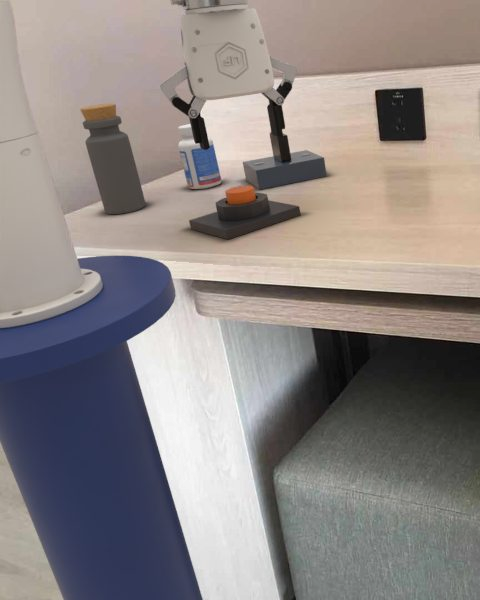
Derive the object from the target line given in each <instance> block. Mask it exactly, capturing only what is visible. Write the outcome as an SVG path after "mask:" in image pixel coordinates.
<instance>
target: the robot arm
mask: <svg viewBox="0 0 480 600" xmlns="http://www.w3.org/2000/svg"><path fill="white" fill-rule="evenodd" d="M169 3H170V5H171V6H176V5H177V6H178V7H181V8H182V9H183V11H184V14H183V15H180V35H181V47H182V54H183V61H184V65H183V66H181V67H180V68H179V69H177V71H175V72H173V73H172V74H170V76H168V77H167V78H166V79H164V80H163V81H162V82H160V83H159V84H158V89H159V90H160V92H161V93H162V94H163V95H164V97H165V98H166V99H167V100H168V101H169V103H170V104H171V105H172V106H173V107H174V108H176V109H177V110H178V111H180V112H181V113H183V114H184V115H185V116H187V117H188V119H189V124H191V129H192V133H193V138H194V141H195V143H196V144H198V143H199V144H200V147H201V148H202V149H203V150H208V148H210V146H209V141H208V137H209V136H208V132H207V126H206V122H205V118H204V117H202V115H201V111H202V110H203V108H204V106H205V104H206V102H207V101H217V100H224V99H230V98H238V97H246V96H252V95H259V94H261V95H262V96H263V97H264V98H266V99H267V100H268V104H267V106H266V109H267V115H268V120H269V121H268V122H269V127H270V132H271V133H272V135H274V136H277V137H283V134H284V133H283V130H285V129H286V122H285V118H284V116H285V115H284V110H283V105H284V103H285V100H286V98H288V95H289V94H290V93H291V91H292V90H293V84H294V81H295V78H296V76H297V75H296V74H297V71H298V69H297V67H296V66H295V65H293V64H290V63H287V62H285V61H282V60H280V59H277V58H276V57H273V56H270V52H269V49H268V45H267V41H266V37H265V33H264V30H263V27H262V23H261V21H260V17H259V14H258V11H257V9H256V8H255V7H252V8H251V7H250V8H249V4H248V0H169ZM19 56H20V55H19V47H18V38H17V29H16V20H15V14H14V10H13V6H12V2H11V0H0V329H4V328H11V327H17V326H23V325H27V324H31V323H36V322H39V321H43V320H46V319H50V318H53V317H56V316H58V315H61V314H64V313H66V312H69V311H71V310H73V309H76V308H78V307H80V306H82V305H83V304H85V303H87V302H89V301H90V300H92V299H93V298H94V297H95V296H97V295H98V294H99V292H100V291H101V289H102V288H103V283H102V280H101V277H100V275H99V274H98V273H97V272H95V271H92V270H88V269H80V266H79V262H78V256H77V253H76V250H75V246H74V243H73V240H72V237H71V234H70V231H69V227H68V224H67V221H66V218H65V214H64V210H63V207H62V205H61V202H60V198H59V195H58V191H57V189H56V186H55V182H54V178H53V176H52V172H51V169H50V166H49V162H48V159H47V156H46V153H45V150H44V146H43V144H42V143H43V142H42V139H41V136H40V133H39V130H38V127H37V125H36V122H35V118H34V115H33V111H32V108H31V105H30V101H29V97H28V94H27V89H26V86H25V81H24V77H23V73H22V68H21V63H20V62H21V61H20V57H19ZM273 70H274V71H276V72H279V73H281V75H282V78H281V82H280V83H279V85H278V86H277V88H276V89H275V88H274V86H275V77H274V71H273ZM185 80H186V81H187V86H188V90H189V92H190V94H191V95H192V96H191V97H190V100H189V101H188V102H186V101H185V100H184V99H182V98H181V97H180V96H179V94H177V92H176V87H177V86H180V84H182V83H183V82H185Z"/></svg>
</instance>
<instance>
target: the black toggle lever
mask: <svg viewBox="0 0 480 600" xmlns="http://www.w3.org/2000/svg"><path fill="white" fill-rule="evenodd" d="M269 132H270V133H269V140H270V144H271V151H272V156H274V158H275V159H277V160H278V161H280V162H287V161H291V154H290V153H291V150H290V142H289V136H288V134H285V133H283V137H277V136H274V135H272V133H271V131H269Z"/></svg>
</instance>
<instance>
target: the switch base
mask: <svg viewBox="0 0 480 600" xmlns="http://www.w3.org/2000/svg"><path fill="white" fill-rule="evenodd" d="M255 196H256V200H254V201H250V202H247V203H241V204H228V203H227V198H226V197H223V198H220V199H219V200H217V201H216V202H215V209H216V211H215V212H211V213H207V214H205V215H201V216H198V217H196V218H192V219H189V220H188V221H189V222H188V223H189V227H190V230H193V231H197V232H199V233H200V232H201V233H202V234H203V233H204V234H207V235H211V236H214V237H216V238H217V237H218V238H221V239H225V240H231V239H235V238H237V237H240V236H243V235H245V234H249V233H252V232H254V231H257V230H260V229H264V228H266V227H269V226H273V225H276V224H279V223H281V222H284V221H288V220H290V219H293V218H296V217H299V216H301V207H300V206H299V205H295V204H290V203H284V202H279V201H273V200H269V196H268V195H267V193H264V192H255Z"/></svg>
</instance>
